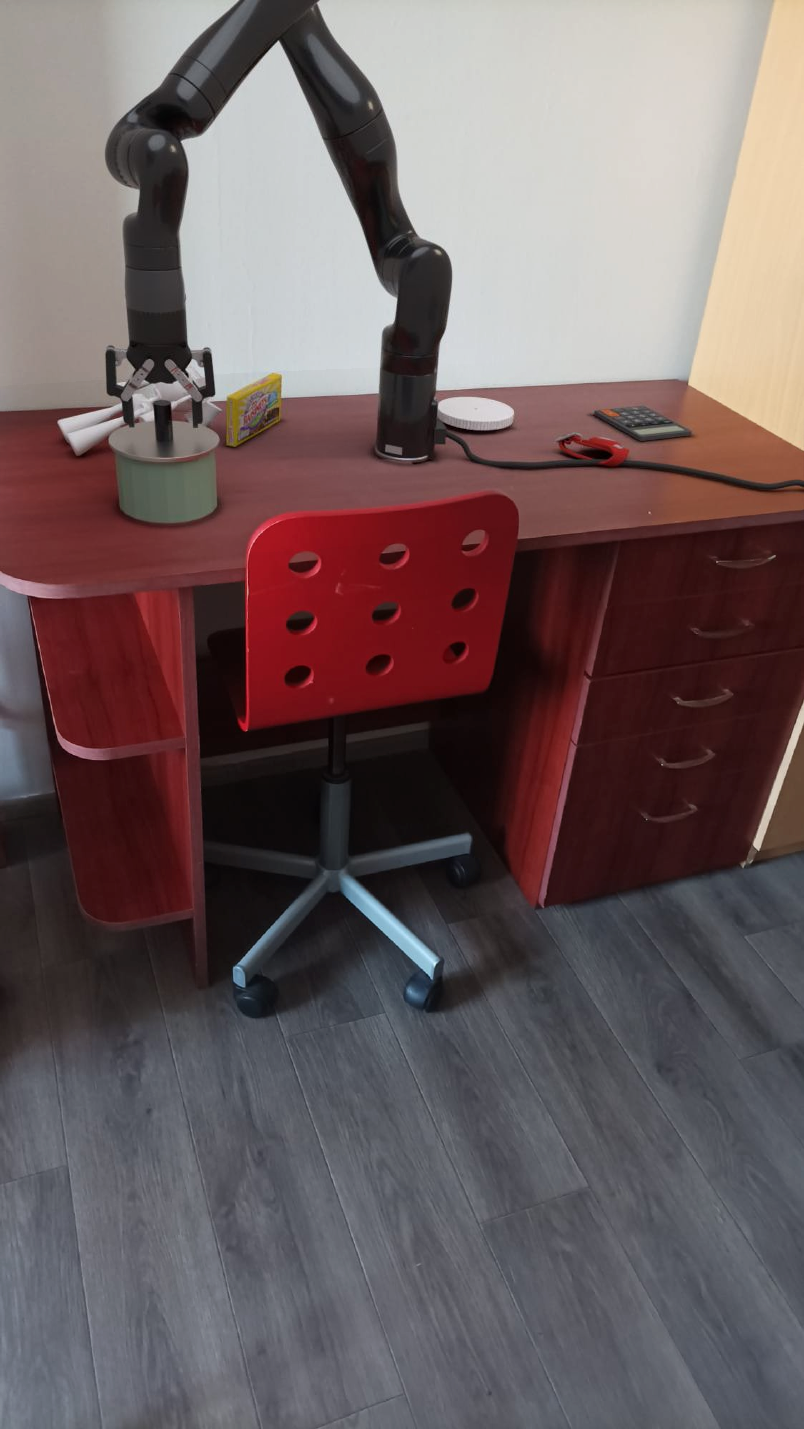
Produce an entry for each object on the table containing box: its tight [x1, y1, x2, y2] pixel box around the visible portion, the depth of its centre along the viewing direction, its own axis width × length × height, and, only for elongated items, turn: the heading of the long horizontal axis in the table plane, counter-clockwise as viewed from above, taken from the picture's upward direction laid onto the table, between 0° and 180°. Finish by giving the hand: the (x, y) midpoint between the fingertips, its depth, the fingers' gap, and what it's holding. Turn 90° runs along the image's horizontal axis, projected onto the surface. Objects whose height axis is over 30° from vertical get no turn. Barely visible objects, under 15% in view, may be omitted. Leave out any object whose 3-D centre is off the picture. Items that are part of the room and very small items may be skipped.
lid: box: [108, 400, 221, 462], centre depth 143 cm, size 15×15×6 cm
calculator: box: [593, 405, 693, 442], centre depth 194 cm, size 12×1×15 cm
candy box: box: [225, 372, 283, 448], centre depth 175 cm, size 16×2×8 cm, turn 158°
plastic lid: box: [437, 396, 515, 431], centre depth 188 cm, size 14×14×2 cm
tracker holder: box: [555, 431, 630, 468], centre depth 176 cm, size 12×4×10 cm
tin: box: [114, 450, 218, 524], centre depth 147 cm, size 14×14×10 cm
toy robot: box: [57, 363, 222, 457], centre depth 169 cm, size 19×12×25 cm
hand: (164, 426), depth 143 cm, fingers open, 8 cm apart
